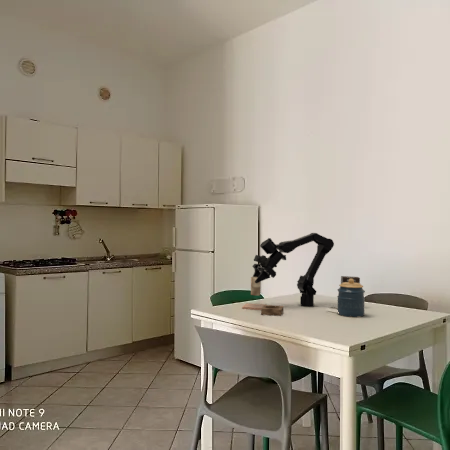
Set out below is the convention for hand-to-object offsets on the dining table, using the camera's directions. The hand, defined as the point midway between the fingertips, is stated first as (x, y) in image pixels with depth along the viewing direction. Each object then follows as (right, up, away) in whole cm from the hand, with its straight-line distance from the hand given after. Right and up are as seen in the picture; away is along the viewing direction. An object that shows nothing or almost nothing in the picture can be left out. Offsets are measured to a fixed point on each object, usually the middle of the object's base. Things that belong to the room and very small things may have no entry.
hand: (253, 282), depth 227 cm
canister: (+47, -15, -13) cm, 51 cm away
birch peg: (+1, -7, 0) cm, 7 cm away
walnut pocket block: (+8, -14, -13) cm, 21 cm away
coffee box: (+52, -15, +9) cm, 55 cm away
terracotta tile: (+1, -14, +1) cm, 14 cm away
